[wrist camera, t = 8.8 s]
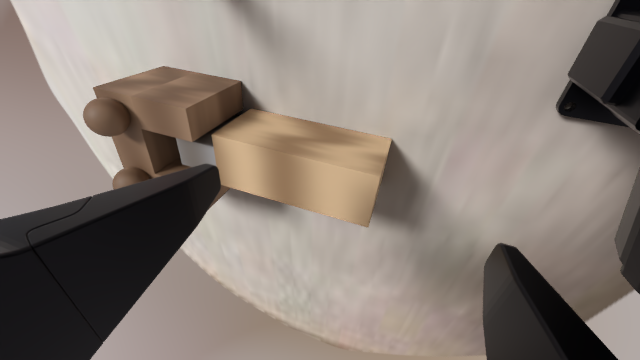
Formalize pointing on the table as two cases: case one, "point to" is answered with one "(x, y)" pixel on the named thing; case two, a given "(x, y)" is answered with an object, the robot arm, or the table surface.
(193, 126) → the arched block with knobs
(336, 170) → the bed rail
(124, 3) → the table surface
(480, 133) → the table surface
